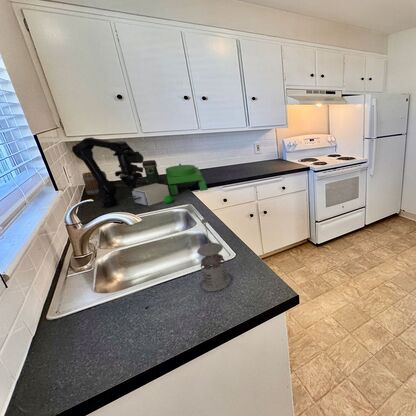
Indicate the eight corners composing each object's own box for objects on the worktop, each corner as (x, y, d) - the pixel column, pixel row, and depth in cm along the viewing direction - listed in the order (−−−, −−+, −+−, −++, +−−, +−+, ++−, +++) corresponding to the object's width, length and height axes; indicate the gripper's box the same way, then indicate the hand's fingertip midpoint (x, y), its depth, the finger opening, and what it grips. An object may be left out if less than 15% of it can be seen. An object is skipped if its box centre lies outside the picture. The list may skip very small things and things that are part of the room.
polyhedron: (170, 204, 172) (168, 197, 170) (163, 204, 173) (161, 197, 171) (175, 201, 177) (173, 194, 175) (168, 201, 177) (167, 194, 176)
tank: (202, 179, 229) (198, 160, 223) (207, 189, 200) (203, 168, 194) (169, 183, 217) (165, 163, 211) (170, 195, 189) (165, 172, 183)
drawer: (137, 207, 165) (134, 195, 162) (127, 204, 169) (123, 193, 167) (165, 198, 180) (163, 187, 177) (155, 196, 184) (152, 185, 182)
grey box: (149, 205, 170) (145, 191, 166) (137, 202, 175) (133, 188, 172) (170, 198, 182) (167, 185, 178) (159, 196, 187) (155, 183, 184)
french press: (205, 295, 90) (191, 228, 81) (197, 278, 99) (183, 215, 89) (234, 284, 95) (224, 219, 86) (224, 268, 104) (214, 209, 95)
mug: (95, 195, 190) (88, 175, 185) (83, 194, 192) (76, 174, 187) (115, 189, 204) (109, 169, 199) (104, 188, 207) (97, 169, 201)
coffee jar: (161, 181, 225) (156, 159, 218) (160, 183, 218) (154, 160, 211) (148, 182, 222) (142, 160, 215) (146, 184, 215) (140, 161, 208)
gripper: (148, 161, 162) (154, 186, 168) (130, 159, 170) (137, 182, 176) (128, 165, 153) (135, 191, 159) (111, 162, 161) (118, 187, 167)
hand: (132, 188), depth 165 cm, fingers open, 5 cm apart
